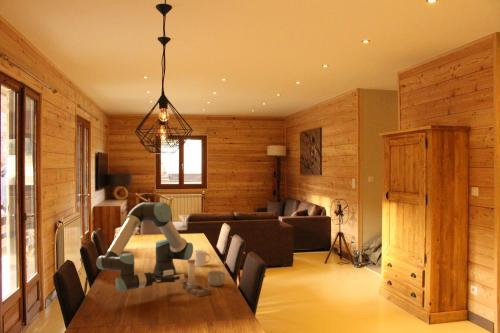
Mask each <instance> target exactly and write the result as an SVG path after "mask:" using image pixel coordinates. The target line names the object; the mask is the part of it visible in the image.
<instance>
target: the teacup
mask: <svg viewBox="0 0 500 333" xmlns="http://www.w3.org/2000/svg"><path fill="white" fill-rule="evenodd" d="M207 281H208V283H209V285H211V286H212V287H213V286H214V287H220V286H222V285H224V283H225V281H226V271H223V270H211V271H208V272H207Z"/></svg>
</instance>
